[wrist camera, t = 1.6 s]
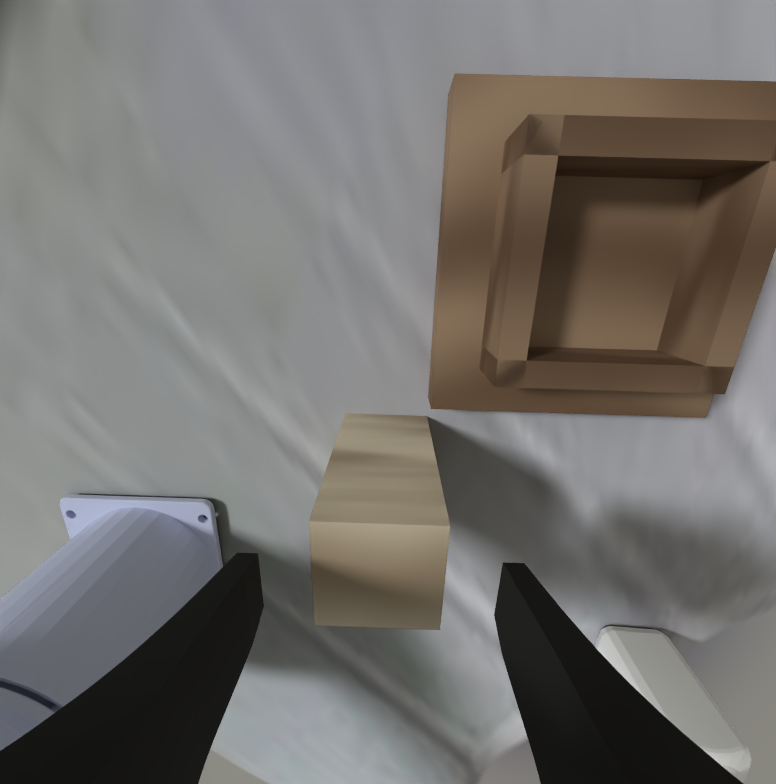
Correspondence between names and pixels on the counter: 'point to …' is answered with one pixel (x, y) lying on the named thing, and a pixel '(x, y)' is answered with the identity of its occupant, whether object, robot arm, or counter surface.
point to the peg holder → (600, 242)
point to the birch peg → (380, 527)
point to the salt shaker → (675, 692)
